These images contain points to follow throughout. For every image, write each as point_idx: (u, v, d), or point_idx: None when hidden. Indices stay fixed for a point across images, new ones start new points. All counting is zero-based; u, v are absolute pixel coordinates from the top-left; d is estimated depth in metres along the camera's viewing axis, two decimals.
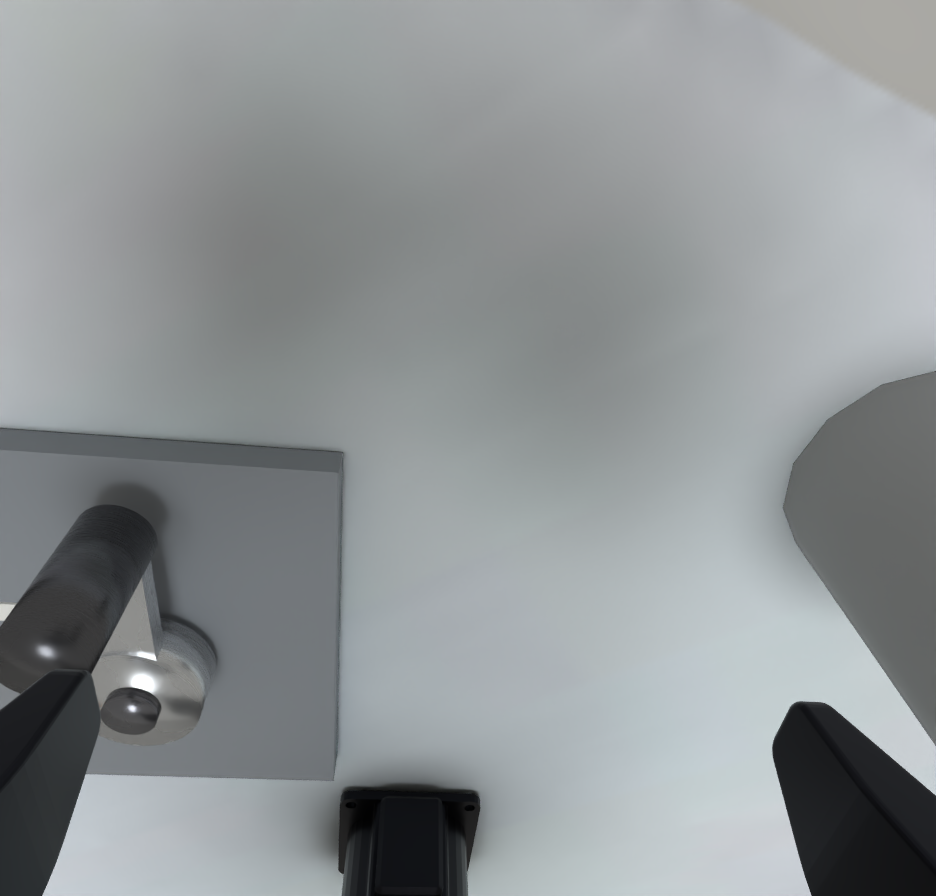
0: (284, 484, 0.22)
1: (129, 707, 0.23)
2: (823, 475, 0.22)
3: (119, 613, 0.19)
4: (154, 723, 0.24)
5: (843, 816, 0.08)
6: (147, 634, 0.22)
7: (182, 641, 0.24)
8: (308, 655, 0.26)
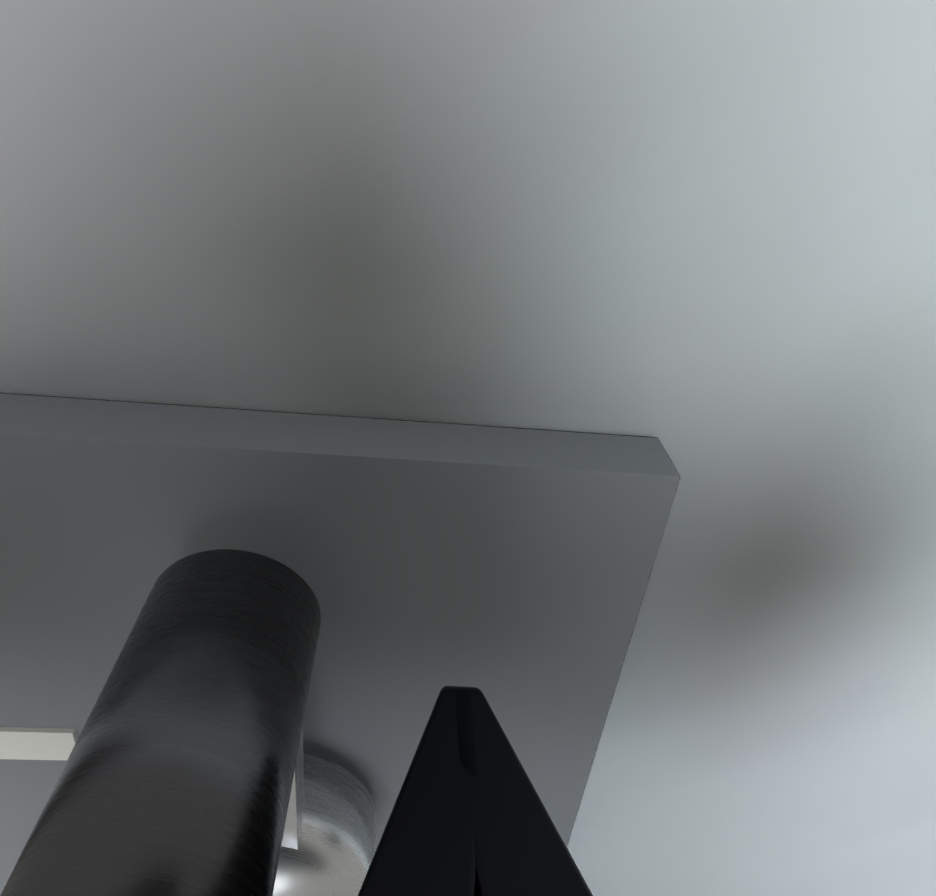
0: (567, 501, 0.11)
1: None
2: None
3: (284, 825, 0.08)
4: None
5: None
6: (287, 805, 0.11)
7: (333, 796, 0.13)
8: None
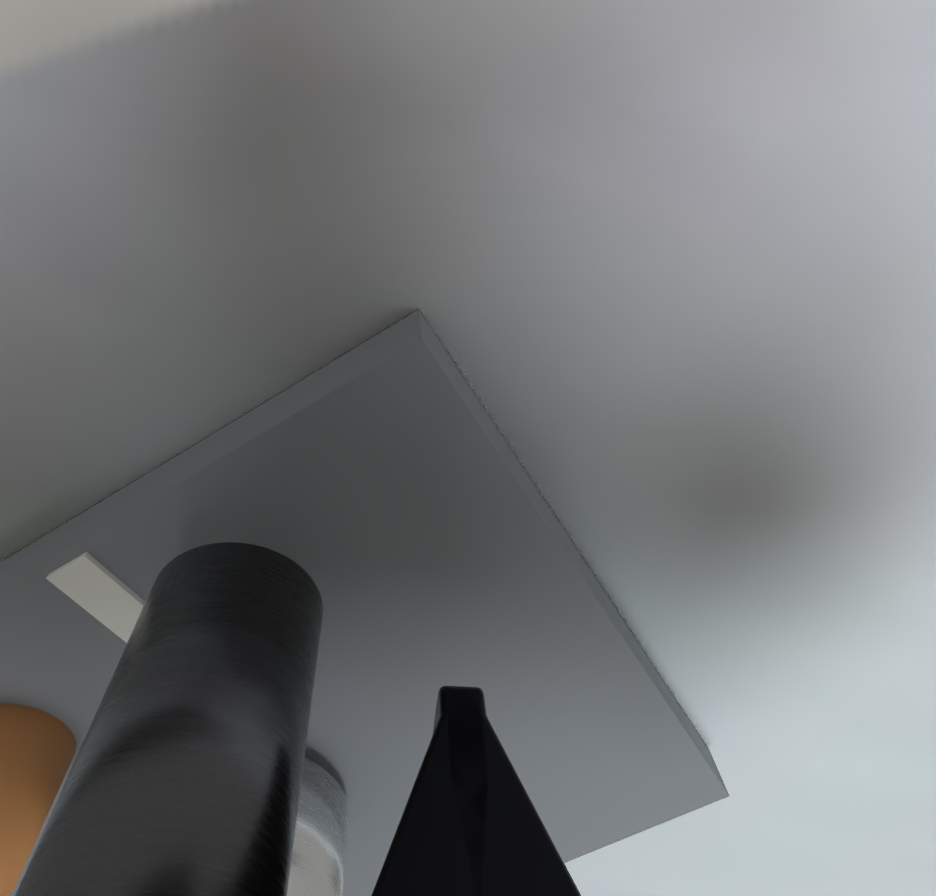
0: (679, 768, 0.15)
1: None
2: None
3: (296, 818, 0.08)
4: None
5: None
6: None
7: (309, 793, 0.13)
8: None
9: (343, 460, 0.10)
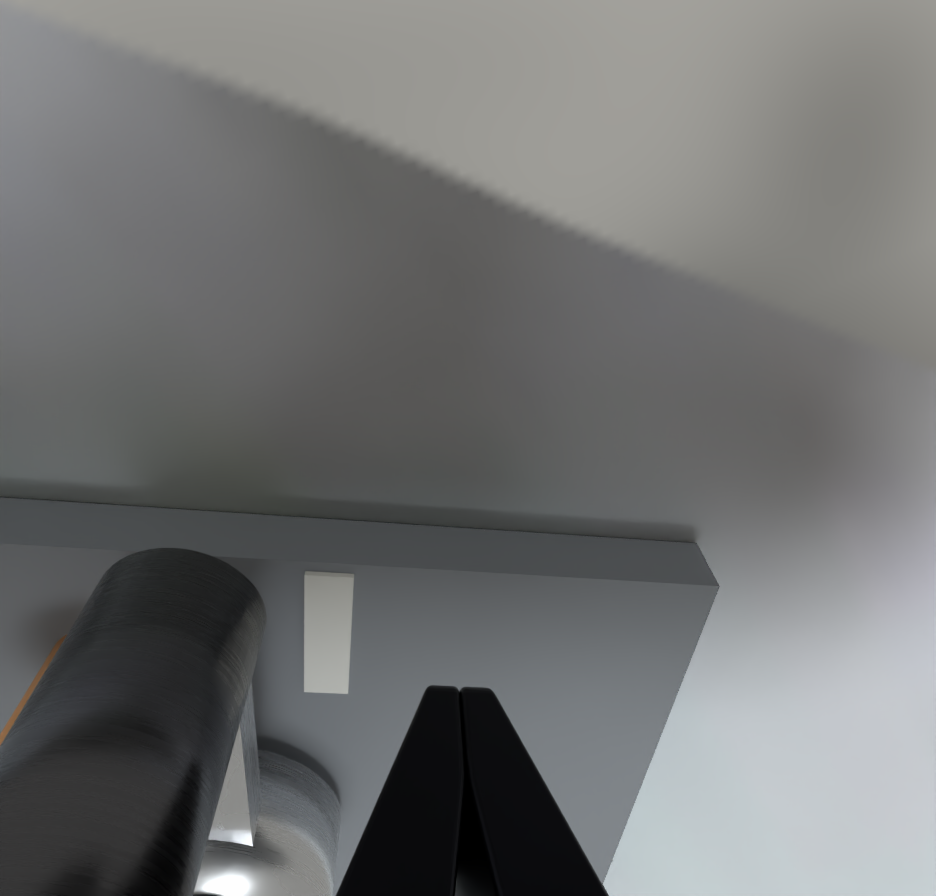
0: None
1: None
2: None
3: (212, 820, 0.08)
4: None
5: None
6: (239, 802, 0.11)
7: (292, 794, 0.13)
8: None
9: (594, 623, 0.12)
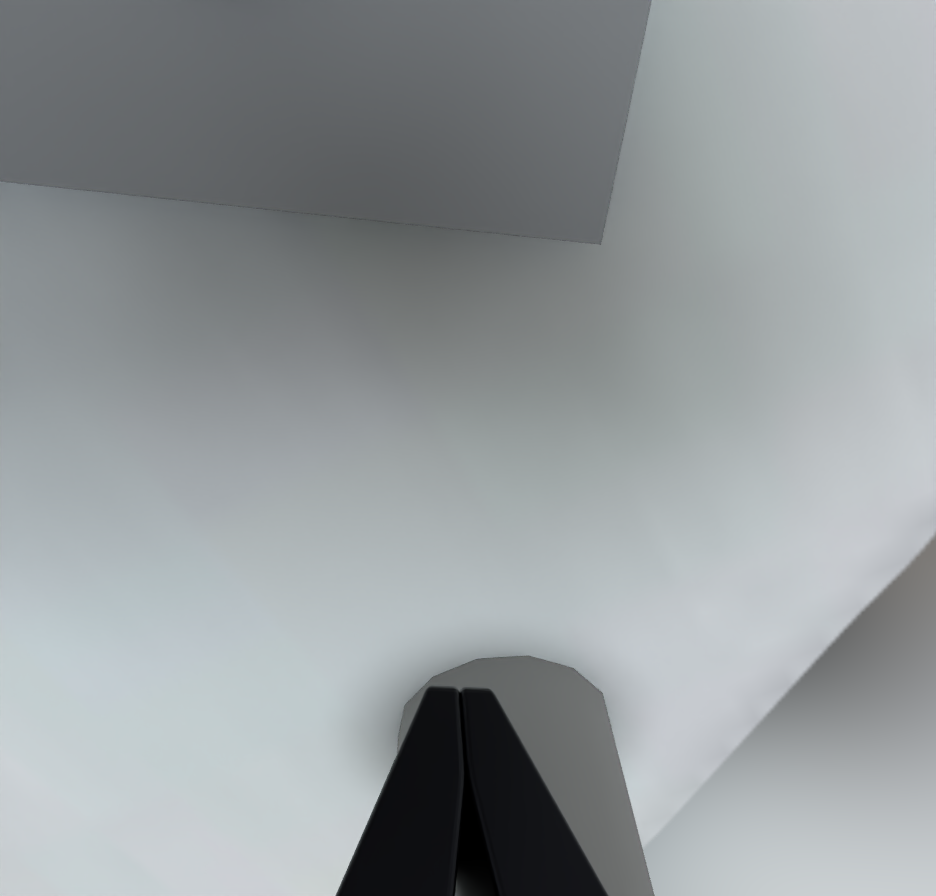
0: (591, 167, 0.16)
1: None
2: (546, 691, 0.25)
3: None
4: None
5: None
6: None
7: None
8: (246, 161, 0.16)
9: None
